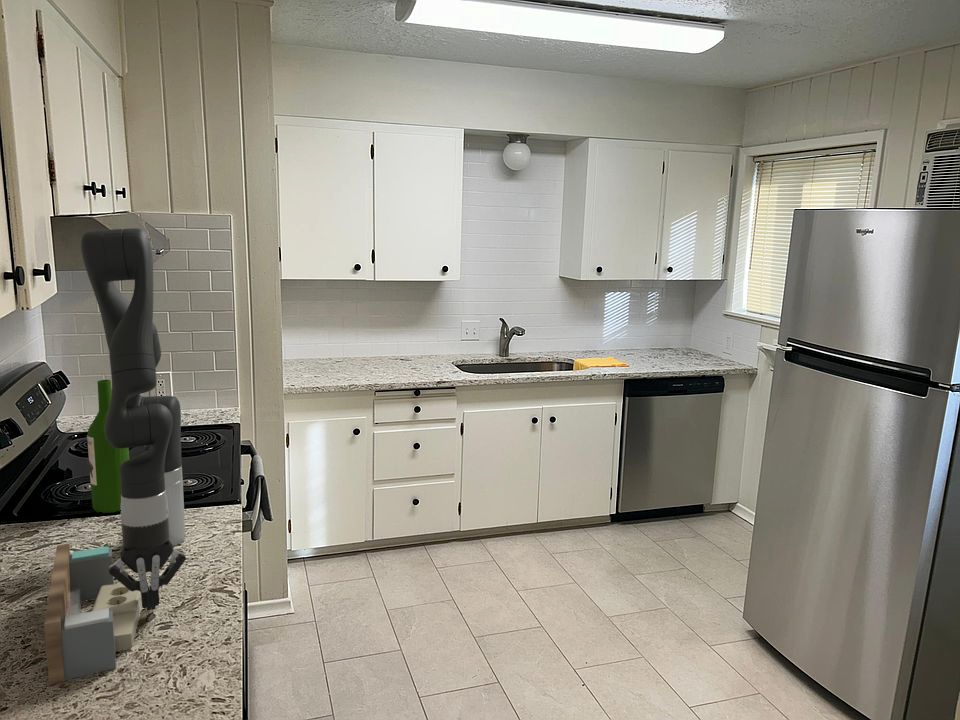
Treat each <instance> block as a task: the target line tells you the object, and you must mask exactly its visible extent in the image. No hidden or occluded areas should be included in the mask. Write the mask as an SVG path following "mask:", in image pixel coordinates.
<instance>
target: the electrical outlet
mask: <svg viewBox="0 0 960 720" xmlns="http://www.w3.org/2000/svg"><path fill="white" fill-rule="evenodd" d="M107 608H109V610H113V624H114V639H115V651H117V652H121V651H120V650H123V651H127V650H126V649H130V650H132V649H133V648H132V647H134V644H133V642H135V639H136V635H135V634H136V633H137V631H136V629H137V630H138V626H139V622H140V618H141V617H140V616H141V614H140V612H141V613H142V609H143V607H142V600H141V592H140V591H137V590H135V591H130V590H129V589H128V588H126V587H125V586H124V585H123V584H122V583H120V582H119V583H114V584H112V585H104V586H101V588H100V590H99V593H98V596H97V598H96V599H95V601H94V604H93V606H92V609H91V611H96V610H101V609H107ZM141 608H142V609H141ZM139 617H140V618H139ZM138 621H139V622H138ZM137 625H138V626H137ZM134 638H135V639H134ZM131 648H132V649H131Z"/></svg>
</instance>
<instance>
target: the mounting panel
mask: <svg viewBox="0 0 960 720" xmlns="http://www.w3.org/2000/svg"><path fill="white" fill-rule="evenodd" d="M70 554H71V547H70V543H64V544H57V545H56V550H55V556H54V561H53V567H52V575H51V581H50V586H49V593H48V599H47V603H46V604H47V605H46V611H45V617H44V623H43V628H44V629H43V630H44V639H45V649H46V662H47V671H48V673H47V674H48V685H49V686H52V685H56V684H60V683H61V684H62V683H66V682H65V681H66V680H65V677H64V665H63V652H62V640H61V626H62V619H65V617H66V616H68V607H69V598H70V588H71V583H70V570H69V558H70Z"/></svg>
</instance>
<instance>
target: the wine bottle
mask: <svg viewBox="0 0 960 720" xmlns="http://www.w3.org/2000/svg"><path fill="white" fill-rule="evenodd" d="M111 394H112V379H100V380H97V396H98V397H97V398H98V399H97V401H98V411H97V414H96V416H95V417H94V419H93V420H92V422H91V424H90V426H89V427H88V429H87V433H86V438H87V450H88V451H87V452H88V453H87V454H88V464H89V465H88V466H89V477H90V491H91V492H90V493H91V506H92V510H93V509H94V510H95V511H98V512H97V513H99V512H102V513H101V514H111V513H116V512H117V511H118V512H121V511H120V510H121V485H120V466H121V464H122V463H123V462H125V461H127V460H129V459H130V450H129V449H130V448H115V447H113V446H111V445H110V444H109V442H108V441H107V439H106V437H105V423H106V418H107V414H108V410H109V406H110V401H111ZM94 510H93V511H94ZM95 511H94V512H95Z"/></svg>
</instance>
